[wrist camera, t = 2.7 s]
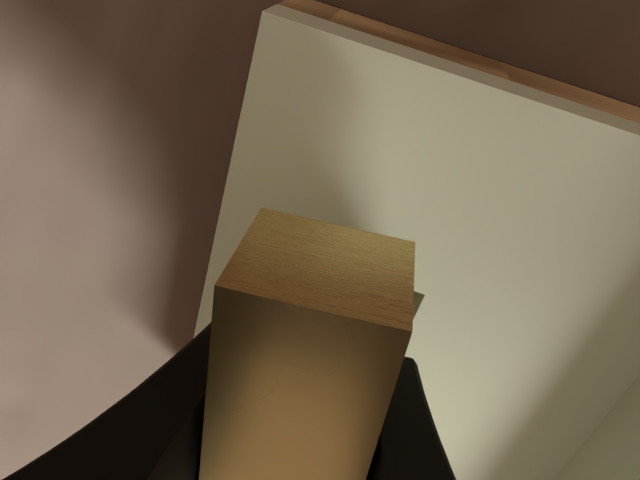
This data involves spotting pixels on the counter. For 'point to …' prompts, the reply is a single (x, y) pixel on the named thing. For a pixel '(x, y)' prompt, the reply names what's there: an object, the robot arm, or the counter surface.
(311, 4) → the base
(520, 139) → the cover
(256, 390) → the tan t-shaped block
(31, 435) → the counter surface
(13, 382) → the counter surface
